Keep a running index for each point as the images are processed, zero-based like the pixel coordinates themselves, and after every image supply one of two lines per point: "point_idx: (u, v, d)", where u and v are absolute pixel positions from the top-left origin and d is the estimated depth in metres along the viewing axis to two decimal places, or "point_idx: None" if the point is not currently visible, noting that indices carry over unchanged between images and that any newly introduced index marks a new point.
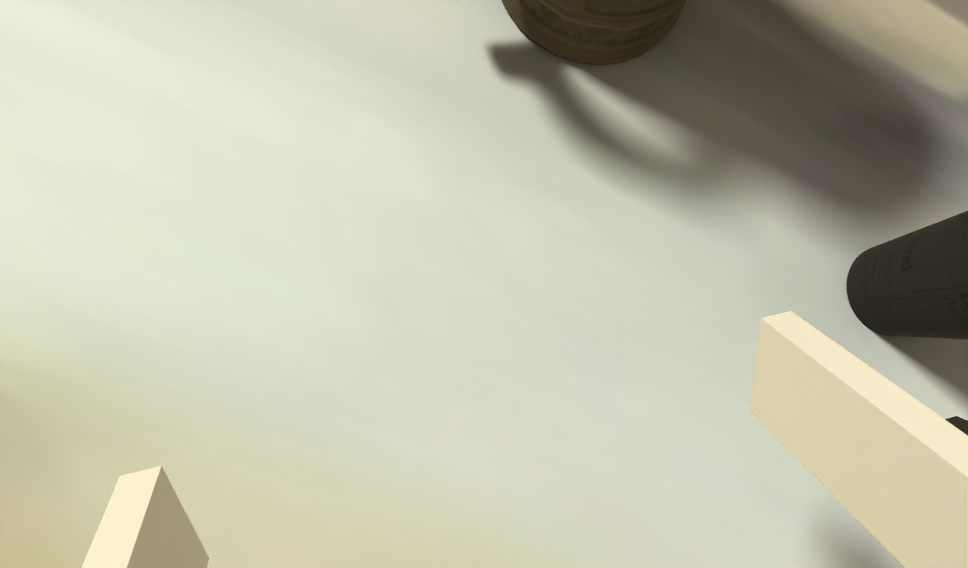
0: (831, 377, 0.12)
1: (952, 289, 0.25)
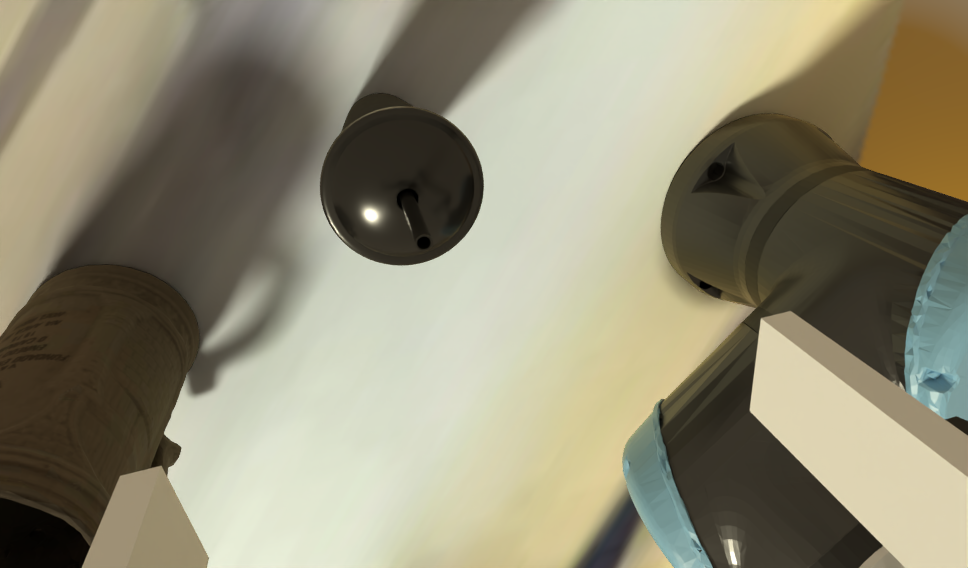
0: (831, 377, 0.12)
1: None
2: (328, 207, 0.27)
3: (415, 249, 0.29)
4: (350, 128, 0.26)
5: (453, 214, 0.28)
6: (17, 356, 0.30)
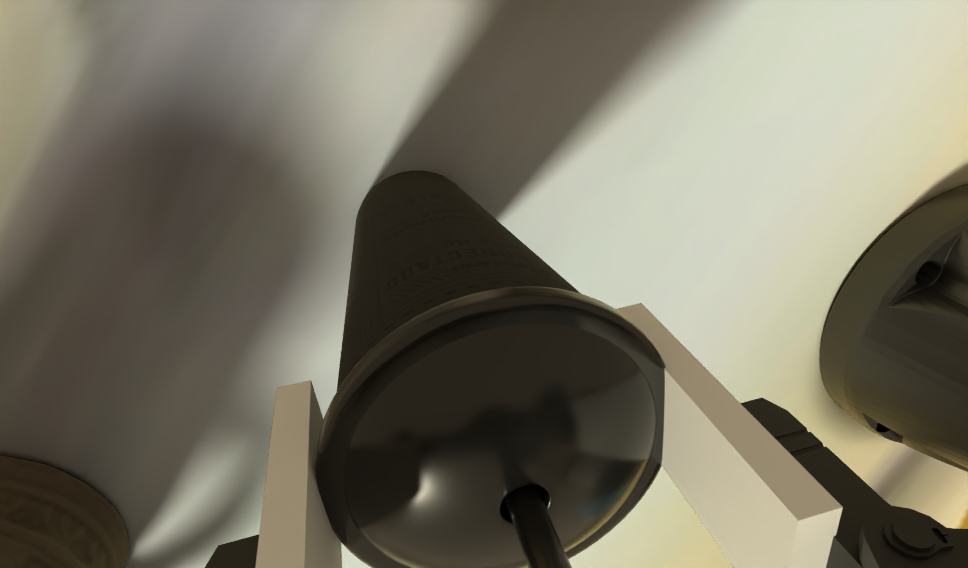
0: None
1: None
2: (336, 512, 0.12)
3: None
4: (390, 352, 0.10)
5: (613, 502, 0.13)
6: None
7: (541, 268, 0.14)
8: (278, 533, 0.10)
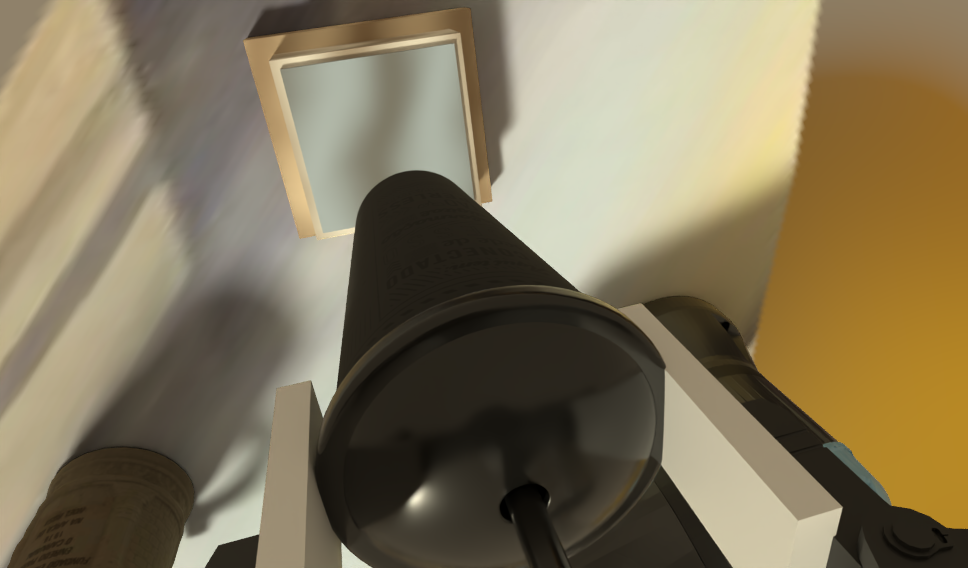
0: None
1: None
2: (335, 512, 0.12)
3: None
4: (389, 351, 0.10)
5: (613, 502, 0.13)
6: (50, 561, 0.39)
7: (541, 267, 0.14)
8: (278, 533, 0.10)
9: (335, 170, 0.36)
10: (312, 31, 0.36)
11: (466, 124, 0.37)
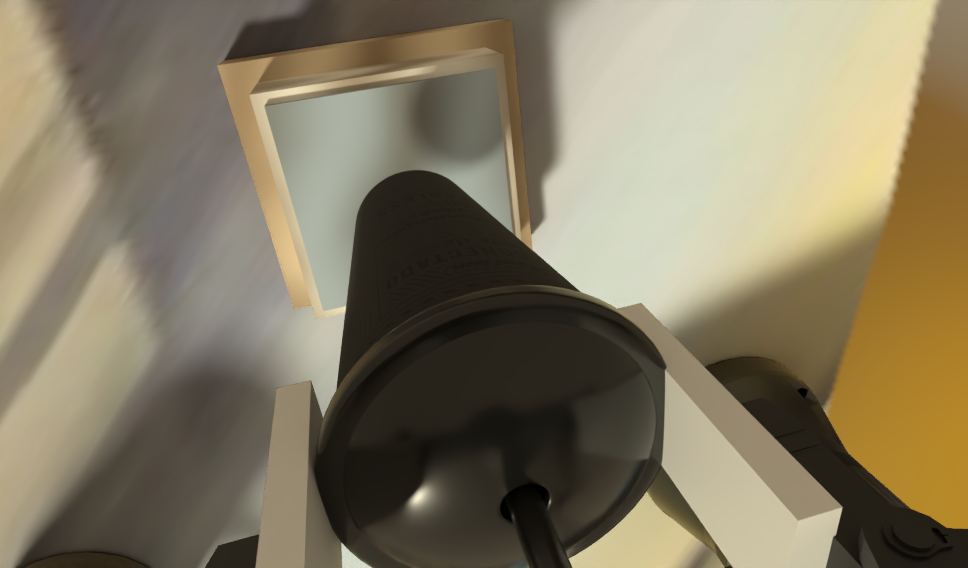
0: None
1: None
2: (335, 512, 0.12)
3: None
4: (390, 351, 0.10)
5: (614, 502, 0.13)
6: None
7: (541, 267, 0.14)
8: (278, 533, 0.10)
9: (339, 233, 0.28)
10: (308, 52, 0.28)
11: (508, 171, 0.29)
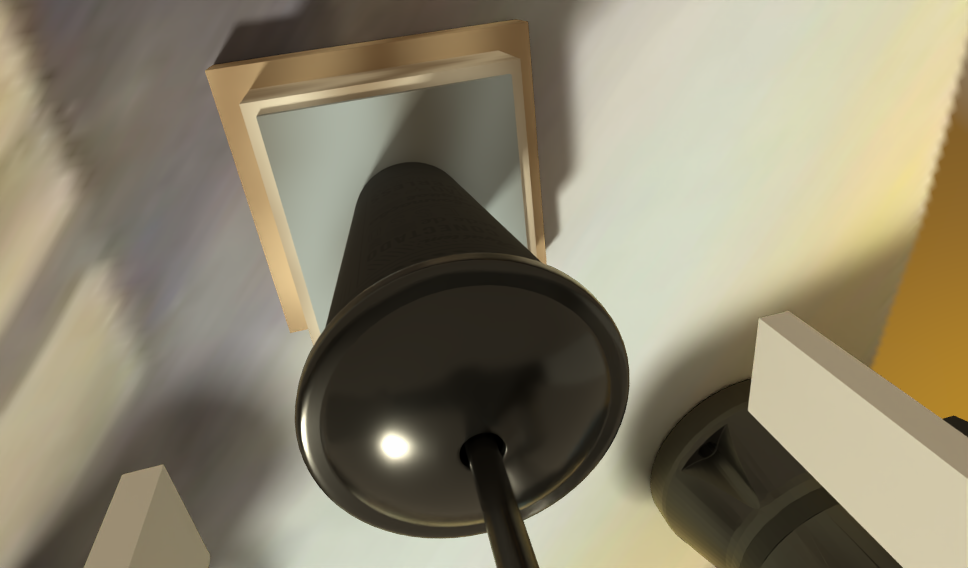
0: (829, 377, 0.12)
1: None
2: (313, 458, 0.13)
3: None
4: (358, 309, 0.12)
5: (571, 457, 0.14)
6: None
7: (509, 242, 0.15)
8: None
9: (339, 254, 0.25)
10: (305, 56, 0.25)
11: (523, 186, 0.26)
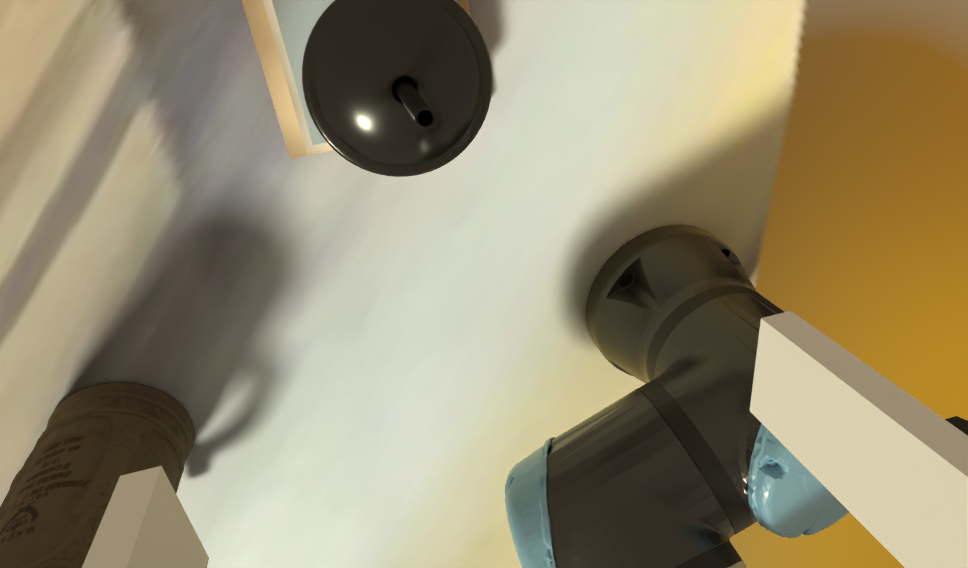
0: (831, 377, 0.12)
1: None
2: (312, 104, 0.23)
3: (415, 155, 0.25)
4: (334, 4, 0.22)
5: (458, 111, 0.24)
6: (49, 484, 0.38)
7: None
8: None
9: None
10: None
11: None
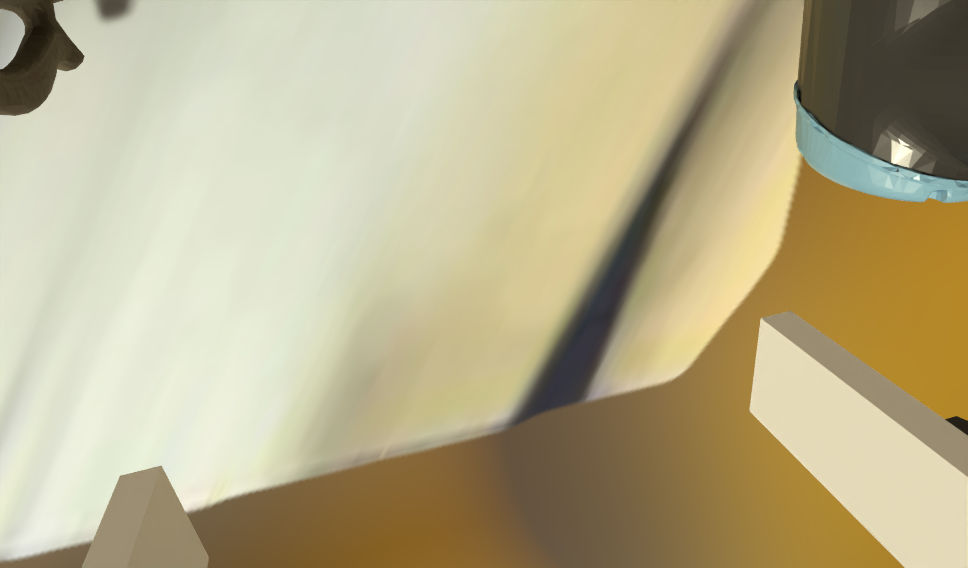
0: (831, 377, 0.12)
1: None
2: None
3: None
4: None
5: None
6: None
7: None
8: None
9: None
10: None
11: None
